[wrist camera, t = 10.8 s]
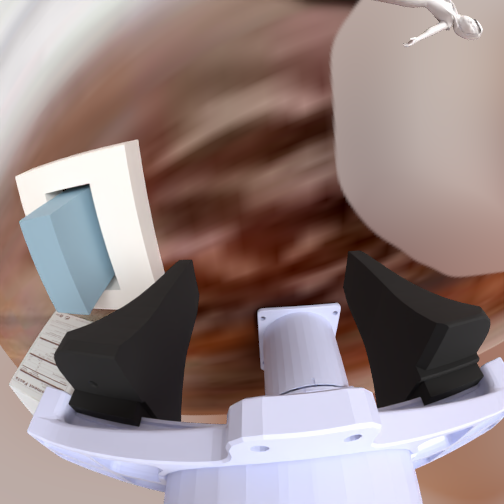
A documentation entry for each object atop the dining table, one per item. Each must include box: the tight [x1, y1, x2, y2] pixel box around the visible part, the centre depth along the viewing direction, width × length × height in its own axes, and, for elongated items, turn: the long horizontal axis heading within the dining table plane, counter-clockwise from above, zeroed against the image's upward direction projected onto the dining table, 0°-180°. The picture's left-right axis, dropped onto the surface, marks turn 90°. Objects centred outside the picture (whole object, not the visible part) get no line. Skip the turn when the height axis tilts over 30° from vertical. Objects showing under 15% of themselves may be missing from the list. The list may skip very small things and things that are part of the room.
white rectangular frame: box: [16, 140, 165, 310], centre depth 21 cm, size 14×12×2 cm
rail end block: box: [19, 184, 115, 315], centre depth 19 cm, size 8×4×7 cm, turn 3°
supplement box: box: [9, 310, 93, 415], centre depth 23 cm, size 7×7×13 cm
